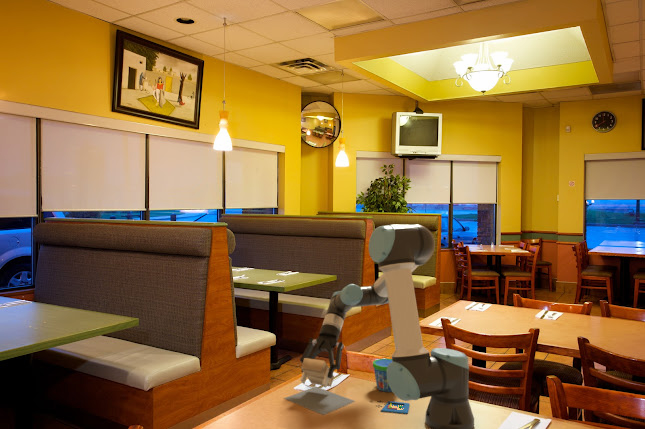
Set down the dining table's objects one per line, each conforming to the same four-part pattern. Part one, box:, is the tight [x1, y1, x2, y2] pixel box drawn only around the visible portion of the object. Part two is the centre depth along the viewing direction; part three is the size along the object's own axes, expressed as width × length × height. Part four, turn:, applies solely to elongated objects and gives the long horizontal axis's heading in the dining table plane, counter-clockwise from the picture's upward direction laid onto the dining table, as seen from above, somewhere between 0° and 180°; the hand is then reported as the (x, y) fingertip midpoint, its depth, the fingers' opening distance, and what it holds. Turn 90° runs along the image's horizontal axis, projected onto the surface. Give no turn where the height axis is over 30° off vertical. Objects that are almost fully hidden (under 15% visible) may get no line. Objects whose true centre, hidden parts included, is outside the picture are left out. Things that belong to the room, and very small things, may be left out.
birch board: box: [300, 358, 335, 388], centre depth 184 cm, size 4×8×12 cm
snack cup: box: [372, 358, 393, 393], centre depth 190 cm, size 16×10×10 cm
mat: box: [283, 386, 356, 416], centre depth 179 cm, size 20×16×1 cm
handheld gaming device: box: [370, 400, 410, 415], centre depth 174 cm, size 8×1×15 cm
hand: (313, 383), depth 181 cm, fingers closed on birch board, 8 cm apart
